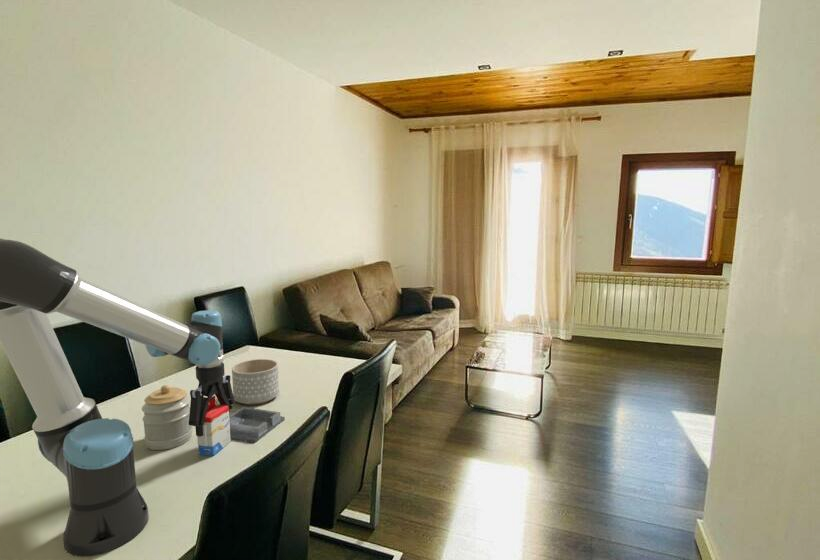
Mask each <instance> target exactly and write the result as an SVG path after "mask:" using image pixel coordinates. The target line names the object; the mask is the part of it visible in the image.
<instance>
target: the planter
mask: <svg viewBox="0 0 820 560" xmlns="http://www.w3.org/2000/svg"><path fill="white" fill-rule="evenodd" d="M231 377H232V378H231V379H232V380H231V381H232V392H233V396H234V401H235V402H237V403H239V404H242V405H247V406H251V405H252V406H253V405H262V404H265V403H268V402H270V401H272V400H273V399H274V398H276V397H277V396H278V395H279V394H280V386H279V385H280V383H279V382H280V381H279V363H278V361H275V360H273V359H266V358H258V359H257V358H256V359H249V360H244V361H241V362H238V363H236V364H234V365H233V366H232V367H231Z"/></svg>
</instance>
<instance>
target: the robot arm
mask: <svg viewBox="0 0 820 560" xmlns="http://www.w3.org/2000/svg"><path fill="white" fill-rule="evenodd" d="M52 313H60V314H62V315H64V316H67V317H70V318H72V319H75V320H78V321H81V322H83V323H85V324H89V325H91V326H94V327H97V328H100V329H102V330H104V331H107V332H109V333H111V334H112V333H113V334H116V335H117V336H121V337H124V338H125V339H129V340H132V341H134V342H136V343H140V344H143V345H145V348H146V351H147V353H148V354H149V355H150V356H151V357H152V358H158V357H165V356H168V355H169V356H170V355H171V356H174V357H175V358H179V359H182V360H185V361H186V362H187V361H188V362H189V363H192V364H195V378H196V379H197V381H198V386H197V388H196V389H191V390H190V391H189V396H190V403H189V407H190V414H189V425H191V426H192V427H195V436H196V437H197V438H196V439H197V445H200V446H207V445H208V442H207V427H206V424H205V423H204V421H205V417H206V413H207V409H208V405H209V401H211V399H212V397H213V396H215V398H216V399H217V401H218V403H219V405H226V406H229V418H230V415H231V410H233V407H234V404H235V403H236V401H235V400H234V396H233V387H232V385H231V375H228V374H225V373H226V372H225V364H224V360H225V359H224V345H223V344H224V343H223V341H224V340H223V322H222V317H221V313H220V312H219V311H217V310H213V309H212V310H211V309H210V310H198V311H196V312H193V313H192V314H191V319H190V320H188V321H186V322H179V321H178V320H175V319H174V318H173V319H172V317H171V318H170V317H168V316H166V315H164V314H162V313H160V312H157V311H155V310H153V309H151V308H148V307H146V306H143V305H142V304H139V303H137V302H135V301H133V300H130V299H128V298H127V297H123V296H122V295H119V294H116V293H115V292H112V291H110V290H109V289H106V288H103V287H101V286H99V285H97V284H95V283H92V282H90V281H87V280H85V279H83V278H81V277H80V275H79V272H78V270H76V269H74V268H72V267H69V266H68V265H66V264H63V263H62V262H59V261H57V260H56V259H54V258H52V257H50V256H48V254H45V253H43V252H42V251H40V250H38V249H36V248H35V247H32V246H31V245H29V244H27V243H24V242H21V241H19V240H11V239H5V238H0V345H1V347H2V349H3V351H4V353H5V355H6V357H7V359H8V361H9V362H10V365H11V366H12V369H13V371H14V373H15V374H16V376H17V379H18V382H19V383H20V385H21V388H22V389H23V391H24V393H25V394H26V395H25V396H26V397H27V399H28V401H29V403H30V405H31V407H32V409H33V411H34V414H35V415H36V419H35V420H34V421H33V423H32V425H31V428H32V430H33V431H34V434H35V436H36V438H37V446H38V449H39V452H40V454H41V455H42V456H43V458H45V459H46V460H47V461H48V462H50V463H51V464H52V465H54V467H55V468H57V470H58V471H59V472H61V473H62V475H63V476H64V477H66V481H67V487H68V495H69V496H68V497H69V504H70V510H69V514H68V517H67V521H66V526H65V528H64V532H63V535H62V540H63V541H62V542H63V547H64V550H65V552H66V551H67V552H66V553H68V554H69V553H70V554H69V555H71V554H72V555H73V556H75V555H77V556H76V557H88V556H89V557H90V556H96V555H100V554H103V553H107V552H109V551H112V550H115V549H117V548H119V547H121V546H123V545H125V544H126V543H128V542H130V541H131V540H132V539H134V538H135V537H136V536H138V535H139V534H140V533H141V532H142V531H143V530H144V529H145V527H146V526H147V524H148V521H149V517H150V516H149V507H148V505H147V502H146V501H145V499H144V497H143V496H142V494H141V492H140V491H139V489H138V488H137V479H136V478H137V477H136V476H137V475H136V468H135V467H136V465H135V455H134V454H135V453H134V437H133V434H132V430H131V427H130V425H129V424H128V423H127V422H126V421H124V420H122V419H118V418H112V419H110V418H108V417H106V418H103V417H102V414H101V413H100V410H99V408H98V405H97V404H96V401H95V399H93V398H90V397H85V396H84V395H83V393H82V390H81V388H80V386H79V384H78V382H77V379H76V376H75V375H74V373H73V370H72V368H71V365H70V364H69V361H68V359H67V356H66V354H65V353H64V350H63V348H62V346H61V344H60V341H59V339H58V336H57V334H56V332H55V330H54V327H53V326H52V323H51V321H50V319H49V316H48V315H49V314H52ZM199 420H200V421H199ZM229 422H230V419H229ZM72 555H71V556H72Z"/></svg>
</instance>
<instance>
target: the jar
mask: <svg viewBox="0 0 820 560" xmlns="http://www.w3.org/2000/svg"><path fill="white" fill-rule="evenodd" d="M187 394H188V392H187V390H185V389H182V388H179V387H175V386H174V387H171V386H170V385H169V384H165V385H162V386H161V387H160V389H156V390H154V391H153V392H151V393H150V394H148V396H146V397H145V399H144V400H143V401H144V404H143V405H142V406H141V411H142V412H143V413H144V414H143V415H144V416H143V417H142V421H143V429H144V430H143V431H144V437H143V438H144V443H145V447H146V448H148V449H150V450H153V451H155V450H156V451H160V450H162V451H163V450H169V449H174V448H177V447H179V446H181V445H183V444H185V443H186V442H188V441H190V439H191V438H192V437H193V432H194V431H193V430H194V429H193V426H191V425H189V414H190V403H191V397H189V396H187Z"/></svg>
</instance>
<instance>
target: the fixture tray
mask: <svg viewBox="0 0 820 560" xmlns="http://www.w3.org/2000/svg"><path fill="white" fill-rule="evenodd" d="M285 417H286V416H281V412H279V411H275V410H269V409H267V410H266V409H260V408H253V407H247V406H246V407H245V406H242V407H241V408H240V409H237V410H236V411H235V412H233V413H231V414H230V418H229V419H230V440H235V441H236V440H237V441H243V442H249V443H254V444H255V443H257V442H259V440H261V439H262V438H264V436H266V435H267V434H268V433H270V432H271V431H273V430H274V429H275V428H276V427H277V426H279V425H280V424H281V423H283V422H284V421H285V419H286V418H285Z"/></svg>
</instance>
